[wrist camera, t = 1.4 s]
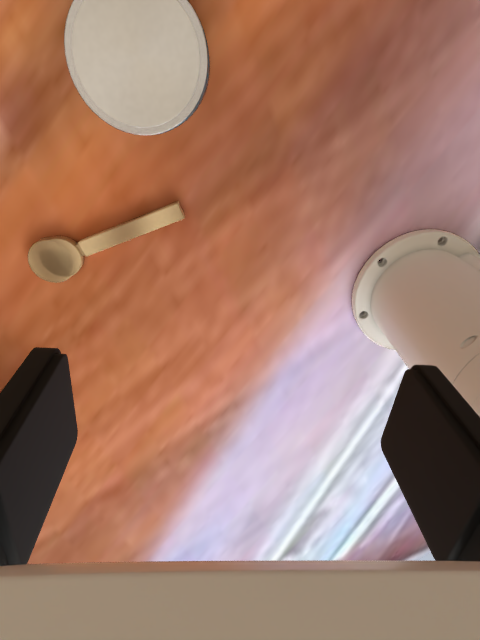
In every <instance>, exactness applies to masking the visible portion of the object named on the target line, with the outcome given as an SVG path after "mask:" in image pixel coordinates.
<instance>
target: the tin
mask: <svg viewBox="0 0 480 640" xmlns="http://www.w3.org/2000/svg"><path fill="white" fill-rule="evenodd" d="M64 47H65V56H66V61H67V66H68V69H69V72H70V75H71V78H72V80H73V83H74V85H75V87H76V89H77V90H78V92H79V94H80V96H81V97H82V99H83V100H84V101H85V103H86V104H87V105H88V106H89V108H90V109H91V110H92V111H93V112H94V113H95V114H96V115H97V116H98V117H100V118H101V119H102V120H103V121H105V122H106V123H108V124H109V125H111V126H113V127H115V128H116V129H119V130H121V131H124V132H127V133H131V134H136V135H156V134H161V133H164V132H167V131H170V130H172V129H174V128H176V127H178V126H180V125H181V124H182V123H184V122H185V121H187V120H188V119H189V118H190V117H191V116H192V115H193V113H194V112H195V111H196V110H197V108H198V107H199V105H200V103H201V102H202V99H203V97H204V95H205V92H206V89H207V85H208V80H209V71H210V61H209V52H208V46H207V40H206V37H205V33H204V30H203V27H202V25H201V22H200V20H199V18H198V16H197V14H196V12H195V10H194V9H193V7H192V6H191V4H190V3H189V1H188V0H73V2H72V5H71V7H70V9H69V12H68V16H67V19H66V25H65V32H64Z"/></svg>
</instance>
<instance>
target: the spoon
mask: <svg viewBox="0 0 480 640" xmlns="http://www.w3.org/2000/svg"><path fill="white" fill-rule="evenodd" d="M184 218H185V215H184V212H183V210H182V208H181V205H180V203H179V201H177V202H175V203H172V204H170V205H167V206H165V207H162V208H160V209H157V210H155V211H152V212H150V213H147V214H145V215H142V216H139V217H137V218H134V219H132V220H129V221H127V222H124V223H122V224H119V225H117V226H114V227H112V228H109V229H107V230H104V231H102V232H99V233H97V234H94V235H92V236H89V237H86V238H84V239H81V240H80V241H79V242H78V243H76V242H75V241H74V240H72V239H71V238H68V237H65V236H54V237H46V238H42V239H40V240H39V241H37V242H36V243H34V244H33V245H32V246H31V248H30V250H29V252H28V262H29V265H30V267H31V269H32V270H33V272H34V273H35V274H36V275H37V276H39V277H40V278H42V279H43V280H46V281H49V282H54V283H58V282H63V281H66V280H67V279H69V278H70V277H71V276H72V275H74V274H76V273H77V272H78V271H79V270H80V268H81V267H82V266H83V263H84V255H85V256H86V257H87V256H89V255H92V254H94V253H97V252H100V251H102V250H105V249H107V248H110V247H112V246H115V245H118V244H120V243H123V242H125V241H128V240H130V239H133V238H135V237H138V236H141V235H143V234H146V233H148V232H151V231H153V230H156V229H159V228H161V227H164V226H166V225H169V224H171V223H174V222H177V221H179V220H182V219H184Z"/></svg>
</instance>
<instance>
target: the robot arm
mask: <svg viewBox="0 0 480 640" xmlns="http://www.w3.org/2000/svg"><path fill="white" fill-rule="evenodd" d="M439 238H440V239H439ZM379 259H381V260H380V261H379ZM352 310H353V315H354V318H355V320H356V322H357V324H358V326H359V327H360V329H361V330H362V332H363V333H364V334H365V335H366V336H367V337H368V338H369V339H370V340H371V341H373V342H374V343H376V344H377V345H379V346H382V347H385V348H387V349H391V350H396V352H397V353H398V354H399V356H400V357H401V358H402V360H403V361H404V363H405V364H406V365H407V367H408V368H409V369H408V370H406V371H405V373H404V376H403V379H402V381H401V384H400V387H399V390H398V393H397V396H396V398H395V401H394V404H393V407H392V410H391V413H390V415H389V418H388V421H387V424H386V427H385V429H384V432H383V435H382V438H381V448H382V451H383V453H384V455H385V457H386V460H387V462H388V464H389V466H390V468H391V470H392V472H393V474H394V476H395V478H396V480H397V482H398V484H399V486H400V489H401V491H402V493H403V495H404V497H405V499H406V501H407V503H408V505H409V507H410V509H411V511H412V513H413V515H414V518H415V520H416V522H417V524H418V526H419V528H420V530H421V532H422V534H423V536H424V538H425V540H426V542H427V544H428V547H429V549H430V551H431V553H432V555H433V557H434V559H435V560H436V561H168V562H89V563H51V564H27V562H28V560H29V558H30V555H31V553H32V550H33V548H34V545H35V543H36V540H37V538H38V535H39V533H40V531H41V528H42V526H43V523H44V521H45V518H46V516H47V513H48V511H49V508H50V506H51V503H52V501H53V498H54V496H55V493H56V491H57V489H58V486H59V484H60V481H61V479H62V476H63V474H64V471H65V469H66V466H67V464H68V461H69V459H70V456H71V454H72V451H73V449H74V447H75V444H76V440H77V423H76V415H75V408H74V401H73V393H72V386H71V379H70V371H69V364H68V358H67V355H66V354H61V352H60V350H59V349H58V348H37V347H36V348H34V349H33V350H32V351H31V352H30V353H29V355H28V356H27V358H26V359H25V360H24V362H23V363H22V364H21V366H20V367H19V368H18V370H17V371H16V373H15V374H14V375H13V377H12V378H11V379H10V381H9V382H8V383H7V385H6V386H5V388H4V389H3V390H2V392H1V393H0V640H480V255H479V253H478V251H477V250H476V249H475V248H474V247H473V246H472V245H471V244H470V243H469V242H468V241H466V240H464V239H463V238H461V237H459V236H457V235H455V234H453V233H451V232H448V231H443V230H438V229H424V230H418V231H412V232H409V233H407V234H404V235H401V236H399V237H397V238H395V239H393V240H391V241H390V242H388V243H386V244H385V245H384V246H382V247H381V248H380V249H378V250H377V251H376V252H375V253H374V254H373V255H372V256H371V257H370V258H369V259H368V261H367V262H366V263H365V265H364V266H363V268H362V269H361V271H360V272H359V274H358V277H357V279H356V281H355V284H354V288H353V292H352ZM362 311H363V312H362Z"/></svg>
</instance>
